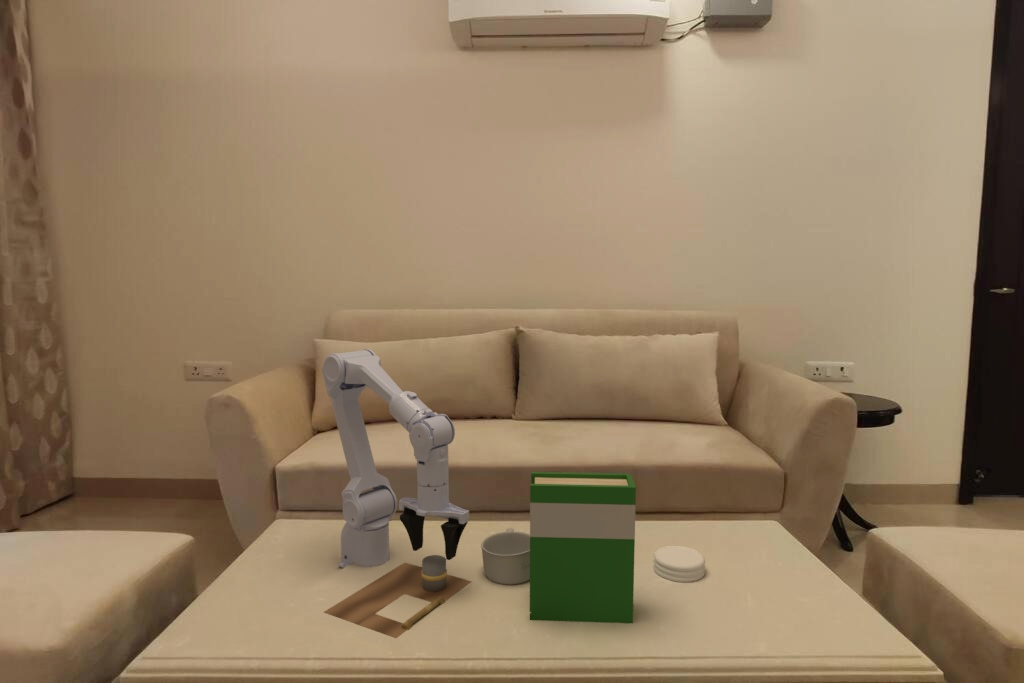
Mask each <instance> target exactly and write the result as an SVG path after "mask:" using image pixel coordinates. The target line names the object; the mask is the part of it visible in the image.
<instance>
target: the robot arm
mask: <svg viewBox="0 0 1024 683" xmlns="http://www.w3.org/2000/svg"><path fill="white" fill-rule="evenodd" d="M321 374H322V377H323V381H324V385H325V388H326V393H327V396H328V397H329V398H330V401H331V406H332V410H333V415H334V418H335V423H336V425H337V430H338V434H339V437H340V442H341V445H342V450H343V454H344V458H345V459H344V460H345V462H346V465H347V469H348V470H347V471H348V473H349V475H348V476H349V479H350V480H349V482H348V483H347V484H346V486H345V488H344V489H343V490H342V492H341V497H342V515H343V518H344V521H345V523H344V525H343V527H342V529H341V532H340V549H341V550H340V552H341V555H340V558H341V562H340V563H338V567H339V568H342V569H344V568H347V567H348V566H350V565H351V564H355V565H356V566H359V567H366V568H372V567H378V566H381V565H383V564H385V563H387V562H388V561H389V560H390V522H392V520H393V519H392V518H393V517H392V516H393V515H394V514H395V513H396V512H397V510H398V509H399V511H403V513H402V514H400V515H399V520H400V521H401V523H402V524H403V527H404V528H405V530H406V532H407V534H408V535H407V536H408V538H409V540H410V544H411V547H412V551H414V552H417V551H419V550H420V549H422V548H423V545H424V525H425V518H426V516H432V517H437V518H441V519H446V520H447V521H446V522H444V523H442V524H440V528H441V531H442V535H443V538H444V547H445V548H444V550H445V551H444V552H445V553H444V554H445V558H446V561H450V560H452V559H454V558H455V557H457V550H458V546H459V542H460V540H461V537H462V535H463V532H464V531H465V528H466V526H467V524H468V522H469V521H470V510H468V509H464V508H462V507H459V506H457V505H455V504H453V503H451V502H450V497H449V496H450V492H449V491H450V490H449V489H450V487H449V486H450V485H449V477H450V476H449V475H450V474H449V445H451V443H453V441H454V439H455V435H456V434H455V433H456V432H455V431H456V429H455V426H454V423H453V421H452V420H451V418H449V415H447V414H445V413H437V412H433V410H432V409H431V408H430V407H429V406H427V405H426V404H425V403H424V402H423V401H422V400H421V399H420V398H419V397H418V395H417V393H415V392H414V391H413V392H412V391H410V390H405V391H403V390H402V389H401V387H400V386H398V384H397V383H396V382H395V381H394V380H393V379H392V377H390V375H389V374H388V373H387V372H386V371H385V369H384V368H383V367H382V362H381V358H380V356H378V355H377V354H376V353H375V352H374V351H373V350H372V349H370V348H366V349H365V348H364V349H362V350H354V351H346V352H338V353H336V352H332V353H329V354H328V355H327V356H326V357H325V359H324V362H323V364H322V367H321ZM367 388H369V389H370V390H372V391H373V393H375V394H377V395H378V396H379V397H380V398H381V399H382V400H383V401H384V402H386V403H387V404H388V405H389V406H388V412H389V414H390V415H391V416H392V417H393V418H394V419H395V420H396V421H397V422H398V424H400V426H402V427H403V428H404V429H405V431H407V432H408V438H409V442H410V445H411V446H412V449H413V456H414V458H415V460H416V480H417V482H416V484H417V486H416V487H417V488H416V491H417V495H416V496H417V497H408V496H404V497H403V498H400V499H399V501H398V499H397V495H396V494H395V492H394V490H393V489H392V487H391V484H390V480H389V478H387V477H386V476H384V475H382V474H380V473H378V472H377V468H376V464H375V460H374V457H373V453H372V452H373V451H372V448H371V444H370V440H369V436H368V432H367V429H366V425H365V421H364V416H363V413H362V409H361V405H360V402H359V401H360V400H359V398H360V396H361V394H362V392H363V391H365V390H366V389H367ZM370 489H371V490H370ZM367 490H368V491H367ZM364 491H366V492H364ZM398 507H399V508H398ZM397 508H398V509H397Z"/></svg>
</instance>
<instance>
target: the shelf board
mask: <svg viewBox="0 0 1024 683" xmlns="http://www.w3.org/2000/svg"><path fill="white" fill-rule="evenodd" d="M421 571H422V566H419V565H415V564H412V563H408V562H404V563H401V564H400V565H398V566H397V567H395V568H393V569H392V570H390V571H389V572H387V573H385V574H383V575H382V576H380V577H379V578H377V579H376V580H374V581H372V582H371V583H369V584H367V585H365V586H364V587H362V588H361V589H359V590H356V592H354V593H352V594H351V595H349V596H348V597H346V598H344V599H342V600H341V601H340V602H338V603H336V604H334V605H333V606H331V607H329V608H328V609H326V610H324V611H323V613H324V614H326V615H327V614H328V615H330V616H333V617H335V618H338V619H341V620H344V621H346V622H350V623H352V624H355V625H357V626H360V627H364V628H366V629H369V630H372V631H375V632H378V633H380V634H383V635H386V636H387V637H391V638H393V639H397V638H398V637H400V636H401V635H403V634H404V633H405V632H407V631H408V630H410V629H411V628H412V627H413V624H415V623H416V622H417V621H418V620H421V619H422V618H423V617H425V615H428V613H430V612H431V611H432V610H434V608H436V607H437V606H441V605H443V604H444V603H445V602H446V601H448V600H449V599H450V598H452V597H453V596H454V595H455V594H457V593H458V592H460V591H461V590H463V589H464V588H465V587H466V586H467V585H469V584H470V583H471V582H472V580H468V579H466V578H462V577H458V576H454V575H450V574H448V573H447V576H446V587H445V588H444V589H443V590H441V591H436V592H430V591H426V590H424V589H423V587H422V576H421ZM403 595H407V596H409V597H413V598H416V599H420V600H423V601H427V602H429V604H428V605H426V606H425V607H423V608H422V609H420V610H419V611H418V612H416V613H415V614H414V615H412V616H410V617H409V618H408V619H406V620H405V621H404V622H400V621H397V620H395V619H392V618H389V617H386V616H383V615H379V614H377V613H378V612H379V611H381V610H383V609H384V608H386V607H387V606H389V605H390V604H392V603H394V601H396V600H398V599H399V598H400V597H402V596H403Z"/></svg>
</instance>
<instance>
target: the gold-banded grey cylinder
mask: <svg viewBox="0 0 1024 683" xmlns="http://www.w3.org/2000/svg"><path fill="white" fill-rule="evenodd" d="M421 563H422V564H421V567H422V571H421V576H422V587H423V589H424V590H426V591H430V592H436V591H441V590H443V589H444V588H445V587H446V576H447V574H448V569H447V559H446V556H443V555H440V554H431V555H428V556H425V557H423V558H422V560H421Z"/></svg>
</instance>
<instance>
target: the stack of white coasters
mask: <svg viewBox="0 0 1024 683" xmlns="http://www.w3.org/2000/svg"><path fill="white" fill-rule="evenodd" d="M653 558H654V559H653V570H654V572H655V573H656V574H657V575H658V576H660V577H661V578H663V579H666V580H669V581H672V582H678V583H691V582H693V583H694V582H698V581H699V580H700V579H702V578H703V577H704V575H705V573H706V571H705V568H706V565H705V564H706V559H705V558H706V557H705V556H704V555H703V553H701V552H700V551H699V550H696V549H693V548H691V547H688V546H684V545H683V546H682V545H666V546H662V547H659V548H658V549H656V550H655V551H654V553H653Z"/></svg>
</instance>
